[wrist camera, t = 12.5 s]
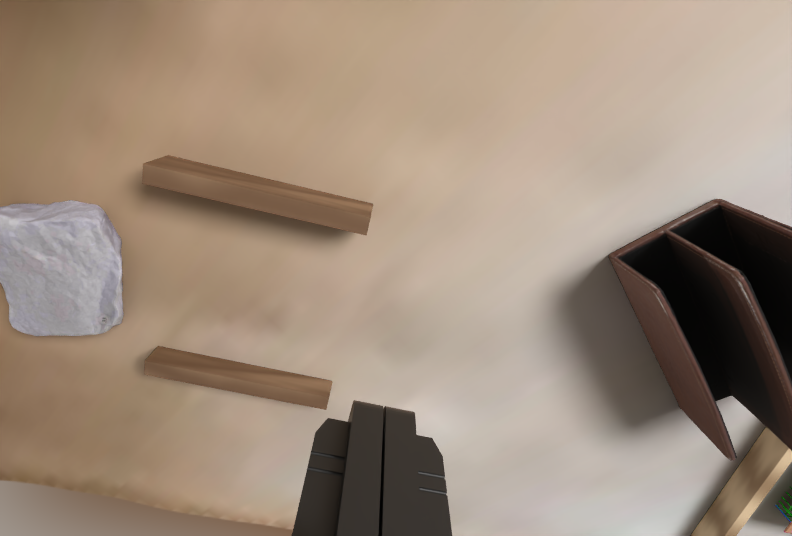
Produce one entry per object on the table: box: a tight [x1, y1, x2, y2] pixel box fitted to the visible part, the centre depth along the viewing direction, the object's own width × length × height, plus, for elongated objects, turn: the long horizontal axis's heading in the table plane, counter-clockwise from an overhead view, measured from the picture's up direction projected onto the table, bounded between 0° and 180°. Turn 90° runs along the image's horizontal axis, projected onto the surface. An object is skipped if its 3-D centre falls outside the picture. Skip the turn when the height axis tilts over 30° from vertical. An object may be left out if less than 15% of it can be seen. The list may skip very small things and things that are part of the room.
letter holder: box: [609, 199, 792, 461], centre depth 36 cm, size 10×20×14 cm, turn 32°
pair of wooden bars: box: [142, 155, 373, 410], centre depth 40 cm, size 20×17×4 cm
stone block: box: [0, 200, 124, 336], centre depth 40 cm, size 12×5×10 cm
